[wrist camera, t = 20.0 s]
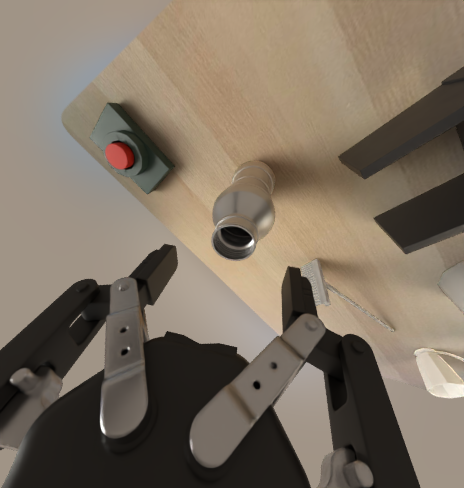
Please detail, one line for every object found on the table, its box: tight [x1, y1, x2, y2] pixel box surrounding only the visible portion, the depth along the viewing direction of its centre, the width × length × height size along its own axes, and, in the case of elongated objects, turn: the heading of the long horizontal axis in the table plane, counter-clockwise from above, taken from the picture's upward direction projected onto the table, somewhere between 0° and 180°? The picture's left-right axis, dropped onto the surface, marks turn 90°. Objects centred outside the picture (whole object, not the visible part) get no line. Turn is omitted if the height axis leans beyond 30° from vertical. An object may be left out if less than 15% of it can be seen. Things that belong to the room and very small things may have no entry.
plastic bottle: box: [212, 161, 275, 261], centre depth 24 cm, size 6×7×20 cm
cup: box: [414, 348, 464, 398], centre depth 43 cm, size 7×10×8 cm
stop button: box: [105, 142, 134, 169], centre depth 30 cm, size 4×4×2 cm
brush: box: [301, 259, 394, 332], centre depth 41 cm, size 4×28×9 cm, turn 50°
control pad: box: [90, 103, 175, 194], centre depth 32 cm, size 12×7×4 cm, turn 42°
